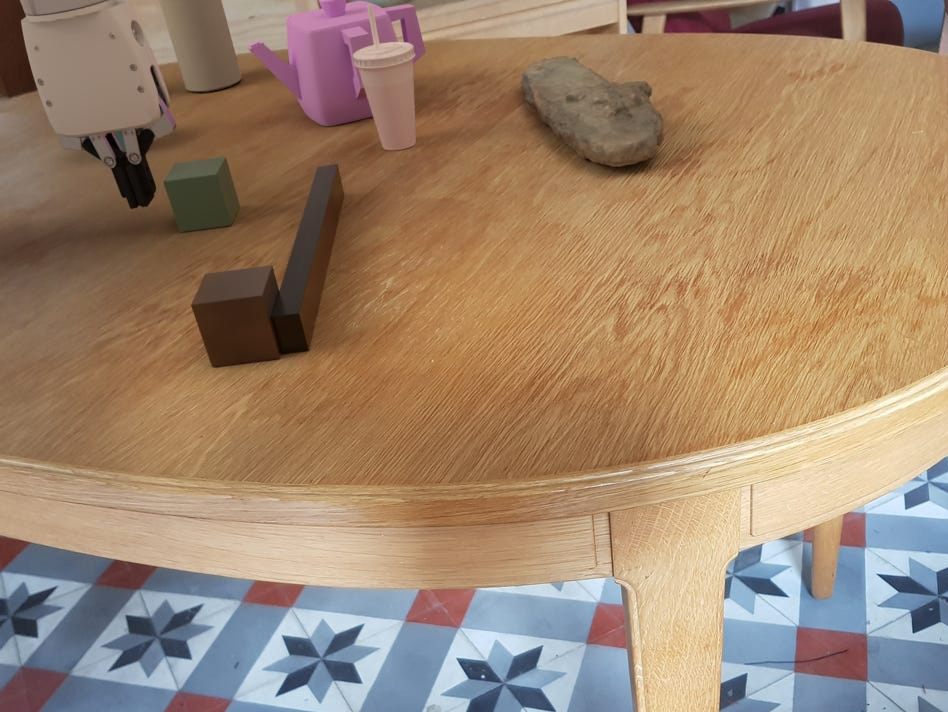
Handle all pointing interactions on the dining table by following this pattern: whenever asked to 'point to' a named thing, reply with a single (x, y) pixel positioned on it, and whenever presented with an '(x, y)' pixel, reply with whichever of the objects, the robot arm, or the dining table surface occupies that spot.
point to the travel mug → (202, 44)
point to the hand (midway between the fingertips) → (142, 202)
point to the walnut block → (238, 315)
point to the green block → (202, 194)
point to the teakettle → (335, 56)
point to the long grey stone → (594, 111)
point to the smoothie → (389, 88)
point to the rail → (308, 262)
